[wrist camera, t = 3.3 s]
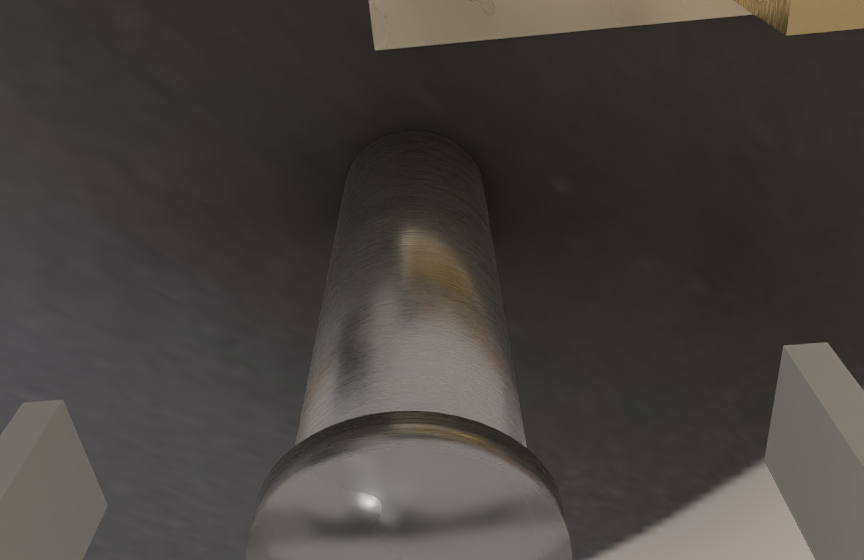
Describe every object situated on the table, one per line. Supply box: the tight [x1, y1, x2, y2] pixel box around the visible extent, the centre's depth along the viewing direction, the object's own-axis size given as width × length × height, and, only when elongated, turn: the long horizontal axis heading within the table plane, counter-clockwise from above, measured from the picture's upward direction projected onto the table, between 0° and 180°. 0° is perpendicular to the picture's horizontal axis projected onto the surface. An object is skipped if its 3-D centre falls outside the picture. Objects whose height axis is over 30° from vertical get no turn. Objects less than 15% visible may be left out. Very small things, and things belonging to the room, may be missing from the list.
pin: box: [246, 130, 572, 560], centre depth 17 cm, size 5×5×13 cm
